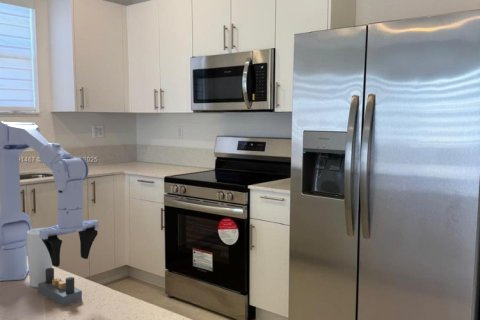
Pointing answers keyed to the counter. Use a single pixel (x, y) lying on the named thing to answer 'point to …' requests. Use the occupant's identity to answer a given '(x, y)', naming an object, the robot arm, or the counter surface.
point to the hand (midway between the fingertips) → (70, 261)
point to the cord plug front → (69, 285)
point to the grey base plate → (59, 294)
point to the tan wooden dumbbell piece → (59, 283)
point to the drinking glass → (37, 257)
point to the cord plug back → (49, 275)
